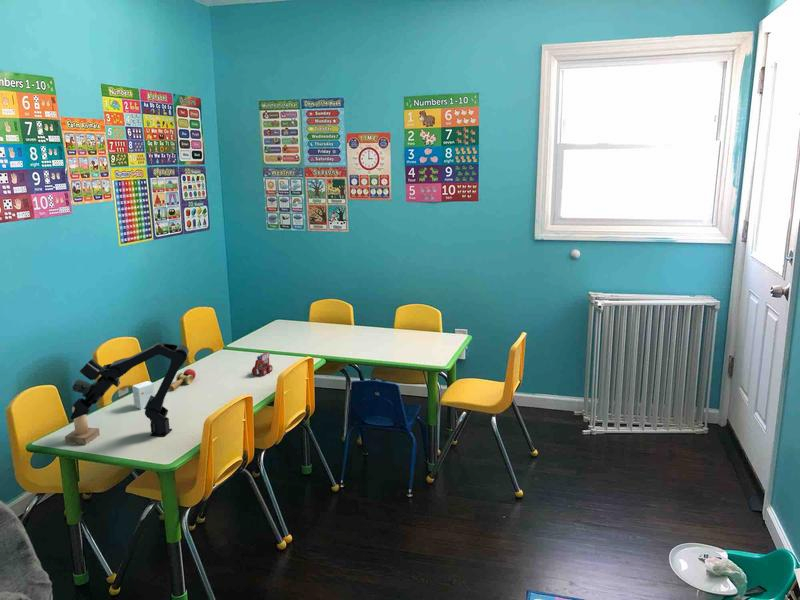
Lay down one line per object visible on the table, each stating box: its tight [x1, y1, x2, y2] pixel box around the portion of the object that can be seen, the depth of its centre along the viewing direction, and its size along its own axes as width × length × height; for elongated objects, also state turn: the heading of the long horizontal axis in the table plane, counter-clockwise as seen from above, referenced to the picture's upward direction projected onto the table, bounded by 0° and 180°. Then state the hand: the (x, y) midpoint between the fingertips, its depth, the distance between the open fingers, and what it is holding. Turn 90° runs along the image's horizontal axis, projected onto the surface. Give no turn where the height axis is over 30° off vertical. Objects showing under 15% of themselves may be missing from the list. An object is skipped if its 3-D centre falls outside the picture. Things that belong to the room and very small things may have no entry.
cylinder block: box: [71, 406, 89, 435], centre depth 257 cm, size 5×5×11 cm
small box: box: [132, 380, 156, 410], centre depth 291 cm, size 8×6×10 cm
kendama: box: [169, 368, 197, 392], centre depth 317 cm, size 8×6×18 cm
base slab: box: [64, 427, 101, 445], centre depth 258 cm, size 9×9×3 cm
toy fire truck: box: [251, 351, 273, 377], centre depth 331 cm, size 7×12×10 cm, turn 157°
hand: (75, 413), depth 256 cm, fingers open, 9 cm apart
